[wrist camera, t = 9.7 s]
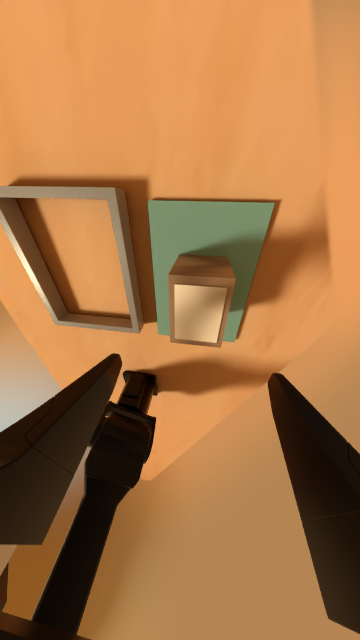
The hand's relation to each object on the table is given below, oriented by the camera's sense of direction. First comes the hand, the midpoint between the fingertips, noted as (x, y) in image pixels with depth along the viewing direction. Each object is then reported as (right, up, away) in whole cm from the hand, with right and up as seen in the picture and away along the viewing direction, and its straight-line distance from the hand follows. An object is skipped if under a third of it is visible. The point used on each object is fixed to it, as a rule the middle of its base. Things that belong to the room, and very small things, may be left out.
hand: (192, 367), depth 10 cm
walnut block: (+2, +7, +9) cm, 12 cm away
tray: (-12, +9, +10) cm, 18 cm away
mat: (+2, +7, +10) cm, 12 cm away
